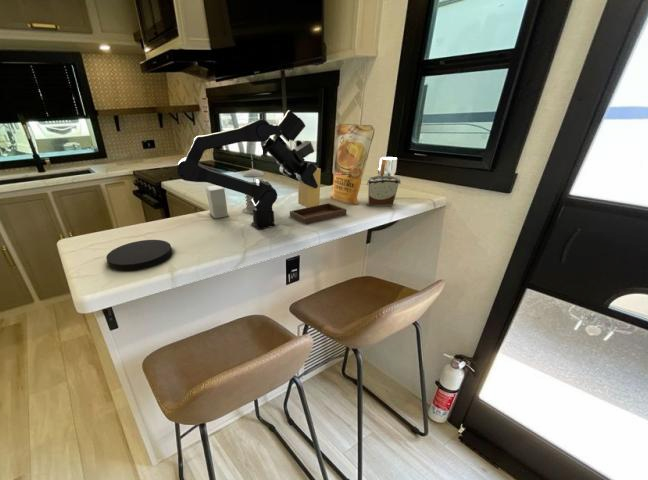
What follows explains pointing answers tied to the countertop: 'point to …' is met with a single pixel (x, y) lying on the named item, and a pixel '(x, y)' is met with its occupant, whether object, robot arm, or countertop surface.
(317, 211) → the tray
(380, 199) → the food container
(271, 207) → the robot arm
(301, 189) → the box
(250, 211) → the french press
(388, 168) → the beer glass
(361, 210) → the countertop surface
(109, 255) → the wireless charger
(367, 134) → the pancake mix bag
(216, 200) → the small box
